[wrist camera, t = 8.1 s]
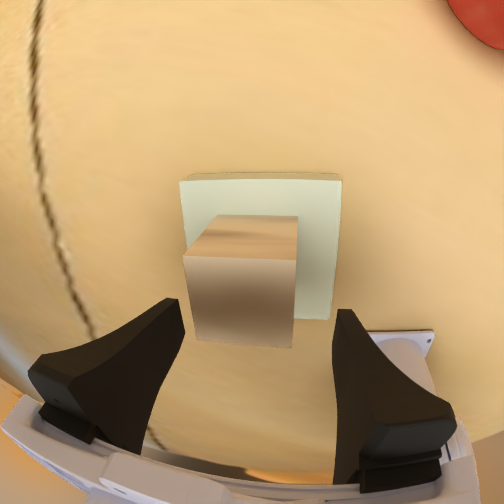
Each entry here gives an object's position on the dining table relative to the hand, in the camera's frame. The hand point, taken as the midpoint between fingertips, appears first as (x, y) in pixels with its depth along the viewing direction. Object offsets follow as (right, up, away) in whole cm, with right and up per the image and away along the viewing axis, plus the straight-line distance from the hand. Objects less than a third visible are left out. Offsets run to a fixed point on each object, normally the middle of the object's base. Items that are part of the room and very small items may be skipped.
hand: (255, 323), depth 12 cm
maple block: (0, +3, +6) cm, 7 cm away
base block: (+1, +4, +9) cm, 10 cm away
